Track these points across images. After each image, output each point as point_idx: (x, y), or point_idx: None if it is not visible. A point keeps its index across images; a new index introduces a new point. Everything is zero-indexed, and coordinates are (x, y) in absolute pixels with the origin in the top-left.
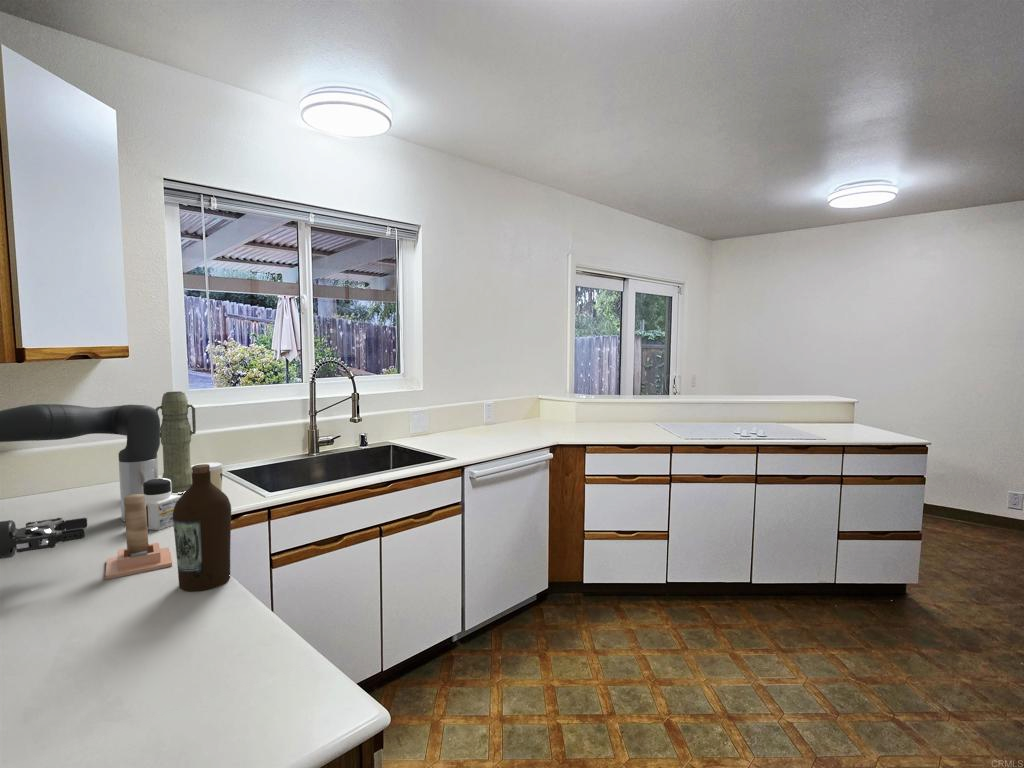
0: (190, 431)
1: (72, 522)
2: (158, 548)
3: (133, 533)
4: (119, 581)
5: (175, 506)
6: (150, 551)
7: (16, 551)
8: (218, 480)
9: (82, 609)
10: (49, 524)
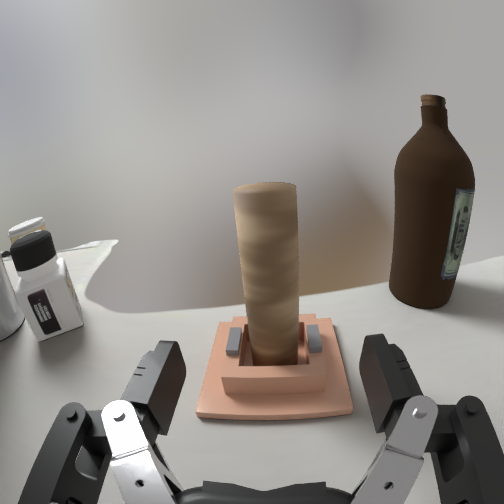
0: None
1: (161, 388)
2: None
3: (297, 299)
4: None
5: (462, 165)
6: (245, 339)
7: None
8: None
9: (494, 401)
10: (163, 474)
